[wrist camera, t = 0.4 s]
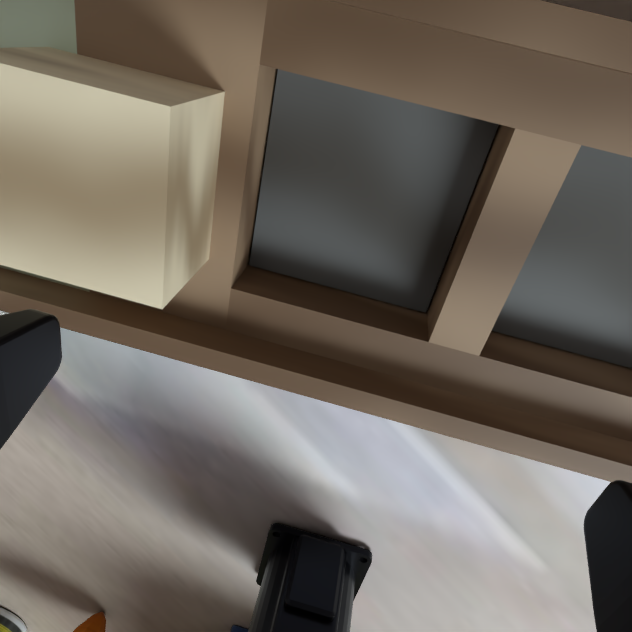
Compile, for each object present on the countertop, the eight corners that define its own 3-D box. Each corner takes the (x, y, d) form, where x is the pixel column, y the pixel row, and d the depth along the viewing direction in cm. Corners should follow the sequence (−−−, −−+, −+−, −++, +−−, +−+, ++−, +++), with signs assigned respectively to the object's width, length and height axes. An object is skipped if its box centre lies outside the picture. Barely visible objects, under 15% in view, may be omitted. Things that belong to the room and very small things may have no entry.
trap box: (641, 429, 22) (719, 563, 16) (-55, 238, 23) (-202, 300, 18) (900, 102, 14) (1205, 141, 9) (-140, -147, 16) (-436, -247, 10)
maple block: (209, 259, 18) (162, 309, 15) (61, 219, 19) (-17, 260, 15) (224, 91, 15) (170, 106, 12) (48, 46, 16) (-55, 49, 12)
